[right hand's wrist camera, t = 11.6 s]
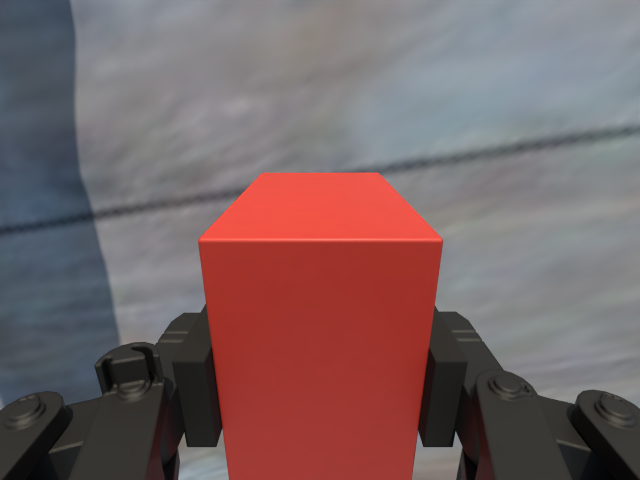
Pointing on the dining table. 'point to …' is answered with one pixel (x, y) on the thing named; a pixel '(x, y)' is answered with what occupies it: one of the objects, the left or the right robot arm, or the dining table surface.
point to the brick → (320, 326)
